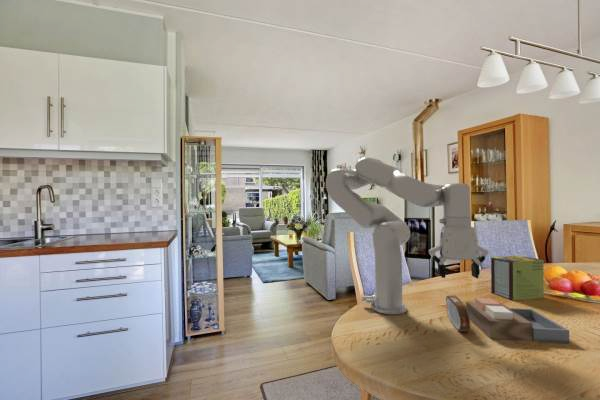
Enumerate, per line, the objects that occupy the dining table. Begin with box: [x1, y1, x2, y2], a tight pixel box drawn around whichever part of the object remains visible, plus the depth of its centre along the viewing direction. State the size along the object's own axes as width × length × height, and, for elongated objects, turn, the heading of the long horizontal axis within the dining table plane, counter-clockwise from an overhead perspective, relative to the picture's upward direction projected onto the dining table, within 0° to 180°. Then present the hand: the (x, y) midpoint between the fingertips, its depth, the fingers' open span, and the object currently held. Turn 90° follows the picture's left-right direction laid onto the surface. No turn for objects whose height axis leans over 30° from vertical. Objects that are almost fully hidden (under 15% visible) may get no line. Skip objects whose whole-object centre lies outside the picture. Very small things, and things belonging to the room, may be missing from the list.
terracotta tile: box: [474, 297, 500, 310], centre depth 94 cm, size 5×5×2 cm
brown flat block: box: [465, 301, 533, 342], centre depth 91 cm, size 11×16×5 cm
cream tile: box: [486, 306, 513, 320], centre depth 87 cm, size 5×5×2 cm
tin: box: [445, 295, 471, 333], centre depth 92 cm, size 15×3×8 cm, turn 168°
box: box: [508, 307, 570, 344], centre depth 89 cm, size 9×16×4 cm, turn 172°
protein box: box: [490, 255, 545, 302], centre depth 121 cm, size 10×15×16 cm
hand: (458, 276), depth 92 cm, fingers open, 9 cm apart
